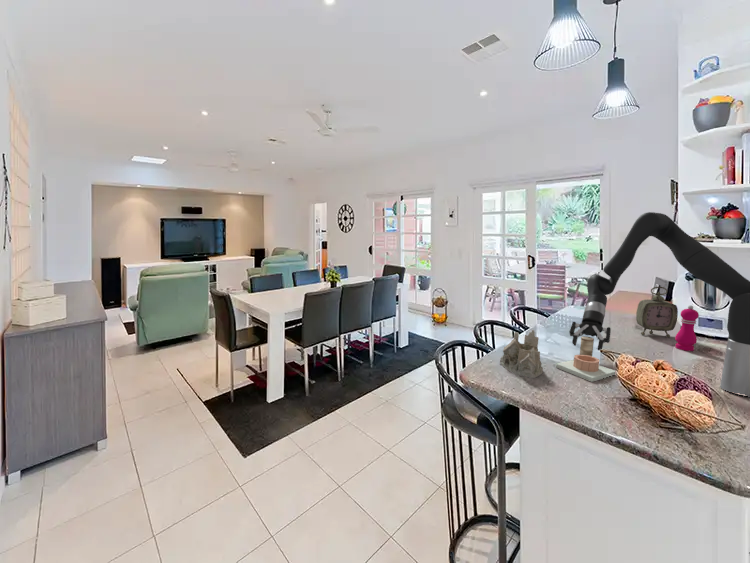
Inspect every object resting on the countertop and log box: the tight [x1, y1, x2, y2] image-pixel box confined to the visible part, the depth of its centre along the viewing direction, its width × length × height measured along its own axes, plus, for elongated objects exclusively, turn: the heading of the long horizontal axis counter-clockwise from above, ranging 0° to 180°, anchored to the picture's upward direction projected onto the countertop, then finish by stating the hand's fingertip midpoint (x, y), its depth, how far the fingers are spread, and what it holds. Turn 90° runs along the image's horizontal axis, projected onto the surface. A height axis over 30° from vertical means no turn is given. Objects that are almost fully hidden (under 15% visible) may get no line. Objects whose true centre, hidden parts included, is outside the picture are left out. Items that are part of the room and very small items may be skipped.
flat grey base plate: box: [555, 354, 616, 383], centre depth 130 cm, size 14×14×5 cm
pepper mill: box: [674, 305, 699, 352], centre depth 155 cm, size 7×7×20 cm
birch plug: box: [579, 335, 595, 357], centre depth 142 cm, size 4×4×9 cm
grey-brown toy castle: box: [499, 329, 544, 379], centre depth 132 cm, size 16×16×15 cm
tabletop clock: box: [635, 286, 679, 338], centre depth 175 cm, size 14×9×25 cm, turn 73°
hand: (586, 347), depth 142 cm, fingers open, 8 cm apart
